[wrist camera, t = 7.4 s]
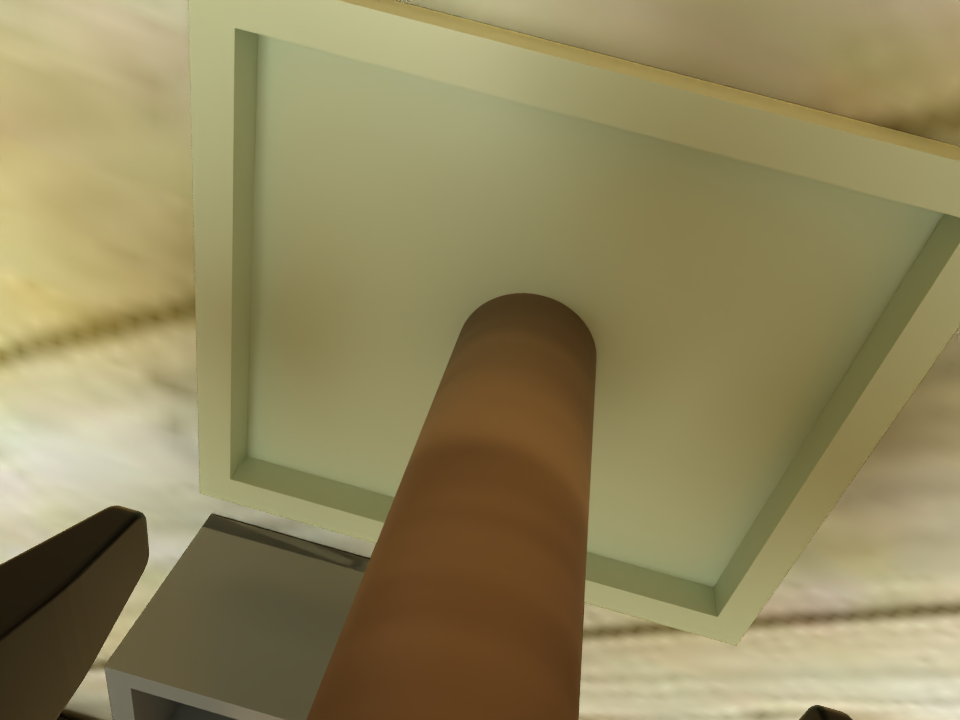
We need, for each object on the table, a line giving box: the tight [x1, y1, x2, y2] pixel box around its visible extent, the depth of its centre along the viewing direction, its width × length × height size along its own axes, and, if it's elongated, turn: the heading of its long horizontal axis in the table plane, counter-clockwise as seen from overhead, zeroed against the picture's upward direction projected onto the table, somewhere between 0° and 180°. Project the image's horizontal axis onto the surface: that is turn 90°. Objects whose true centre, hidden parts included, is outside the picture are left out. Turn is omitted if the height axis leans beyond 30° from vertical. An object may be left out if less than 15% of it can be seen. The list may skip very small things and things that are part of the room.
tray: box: [188, 0, 960, 646], centre depth 15 cm, size 12×14×2 cm
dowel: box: [306, 293, 597, 720], centre depth 11 cm, size 3×3×10 cm
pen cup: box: [104, 514, 370, 720], centre depth 19 cm, size 5×5×5 cm
